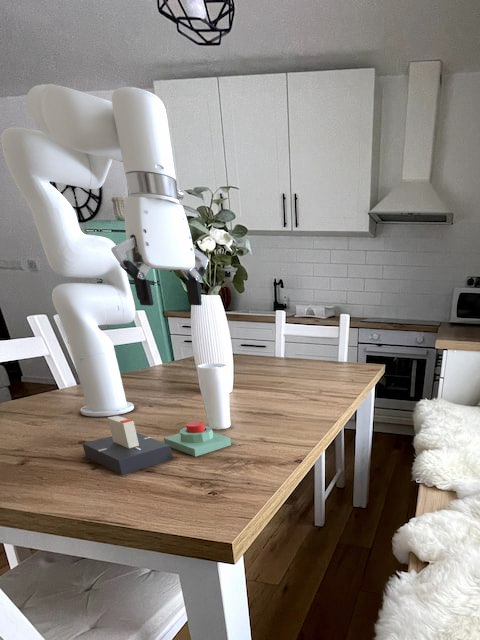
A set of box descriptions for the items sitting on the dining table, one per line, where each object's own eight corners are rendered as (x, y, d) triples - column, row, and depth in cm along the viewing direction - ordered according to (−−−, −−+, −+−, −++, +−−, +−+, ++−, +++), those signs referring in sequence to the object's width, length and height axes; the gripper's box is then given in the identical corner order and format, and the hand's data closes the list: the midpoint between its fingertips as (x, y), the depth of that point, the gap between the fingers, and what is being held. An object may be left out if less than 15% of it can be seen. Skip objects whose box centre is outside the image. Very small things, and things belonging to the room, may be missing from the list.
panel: (85, 457, 79) (81, 442, 77) (136, 443, 86) (133, 430, 85) (121, 475, 72) (117, 459, 70) (173, 458, 79) (170, 444, 78)
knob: (113, 441, 78) (106, 416, 76) (123, 439, 80) (117, 414, 78) (128, 448, 75) (122, 422, 73) (139, 445, 77) (133, 419, 75)
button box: (165, 445, 86) (162, 429, 85) (200, 434, 93) (198, 420, 91) (195, 456, 81) (192, 440, 79) (231, 444, 87) (229, 429, 86)
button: (183, 432, 85) (182, 424, 84) (198, 428, 88) (197, 420, 87) (194, 435, 83) (192, 427, 82) (208, 431, 86) (207, 423, 85)
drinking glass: (225, 432, 95) (217, 368, 89) (199, 429, 96) (190, 367, 90) (238, 424, 101) (232, 364, 95) (214, 422, 102) (206, 362, 96)
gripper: (186, 204, 73) (200, 304, 81) (86, 182, 60) (113, 304, 68) (212, 200, 70) (224, 305, 77) (111, 176, 57) (137, 306, 64)
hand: (172, 305), depth 72 cm, fingers open, 9 cm apart
